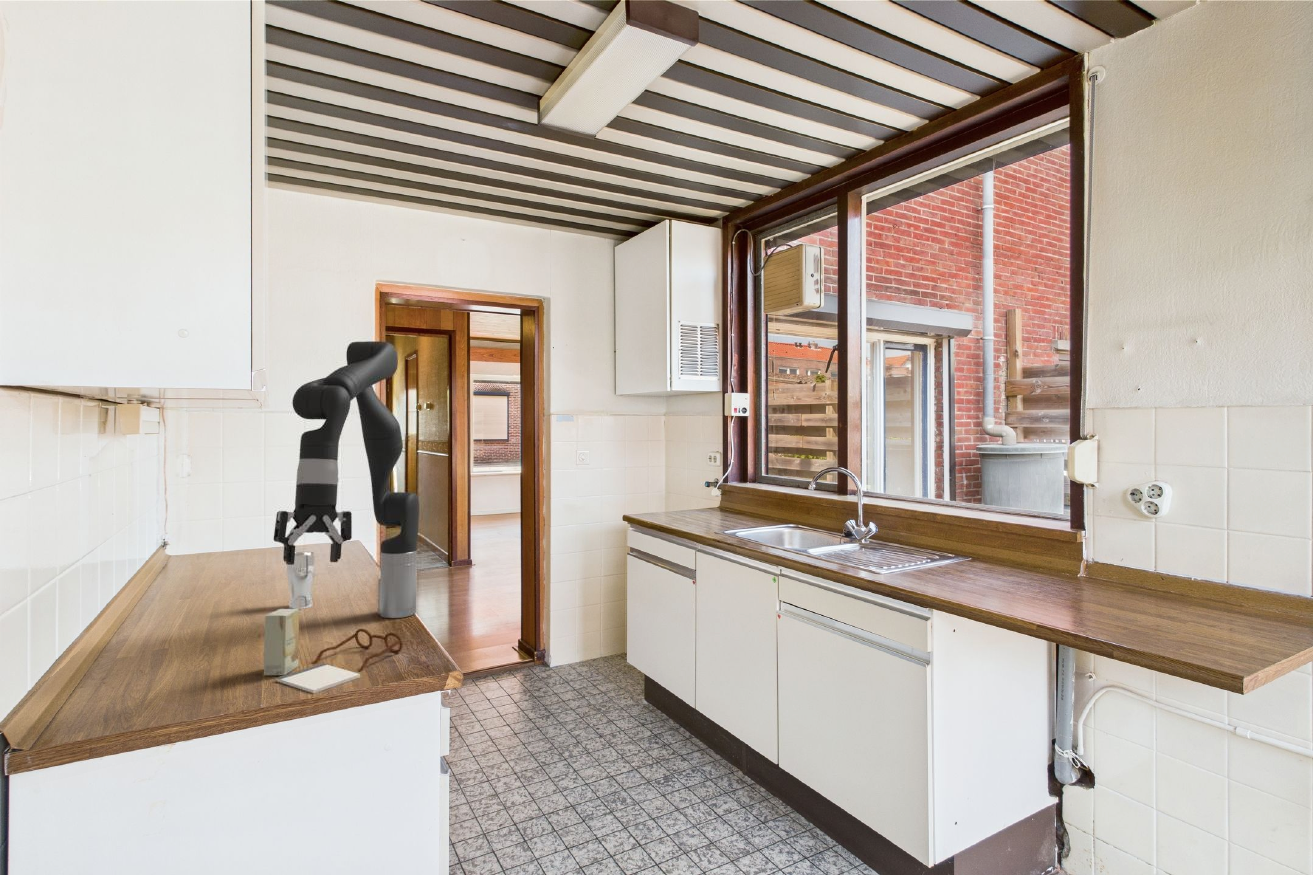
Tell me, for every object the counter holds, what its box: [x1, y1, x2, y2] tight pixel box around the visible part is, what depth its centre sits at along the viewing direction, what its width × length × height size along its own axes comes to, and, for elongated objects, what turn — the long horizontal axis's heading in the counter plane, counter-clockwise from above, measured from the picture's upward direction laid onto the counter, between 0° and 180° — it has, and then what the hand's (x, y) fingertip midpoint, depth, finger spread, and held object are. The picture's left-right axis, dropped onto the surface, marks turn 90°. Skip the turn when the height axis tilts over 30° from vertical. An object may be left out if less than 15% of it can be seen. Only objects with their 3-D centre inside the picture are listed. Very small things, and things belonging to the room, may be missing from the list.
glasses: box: [312, 628, 404, 673], centre depth 148 cm, size 13×13×5 cm
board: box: [276, 662, 361, 694], centre depth 136 cm, size 12×10×1 cm
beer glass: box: [286, 551, 316, 610], centre depth 192 cm, size 7×7×15 cm
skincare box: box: [263, 608, 300, 676], centre depth 140 cm, size 6×4×12 cm
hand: (312, 563), depth 136 cm, fingers open, 8 cm apart
